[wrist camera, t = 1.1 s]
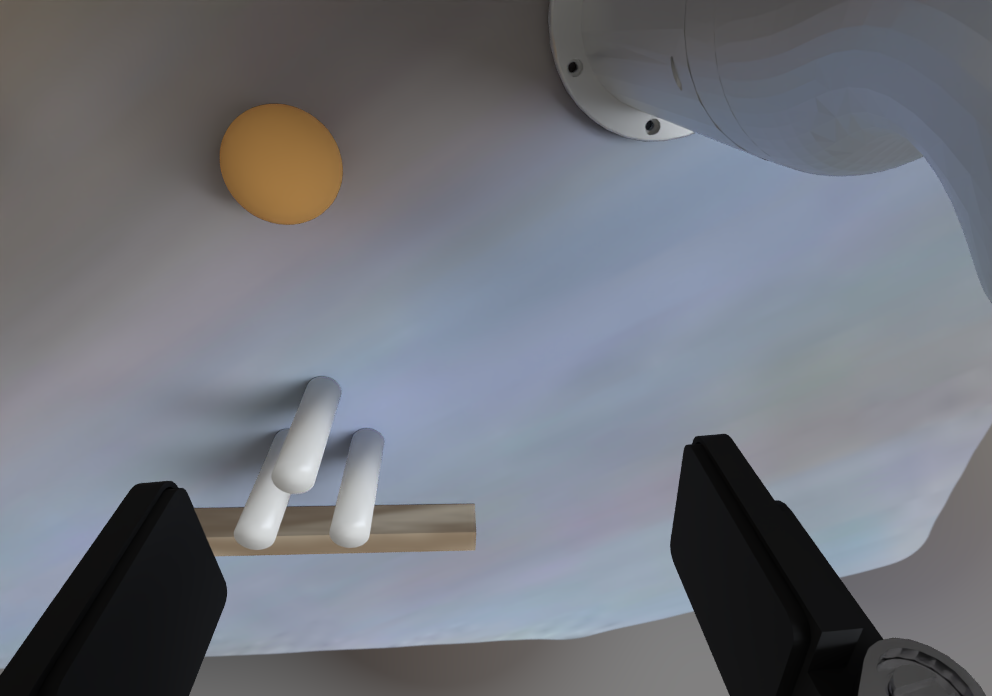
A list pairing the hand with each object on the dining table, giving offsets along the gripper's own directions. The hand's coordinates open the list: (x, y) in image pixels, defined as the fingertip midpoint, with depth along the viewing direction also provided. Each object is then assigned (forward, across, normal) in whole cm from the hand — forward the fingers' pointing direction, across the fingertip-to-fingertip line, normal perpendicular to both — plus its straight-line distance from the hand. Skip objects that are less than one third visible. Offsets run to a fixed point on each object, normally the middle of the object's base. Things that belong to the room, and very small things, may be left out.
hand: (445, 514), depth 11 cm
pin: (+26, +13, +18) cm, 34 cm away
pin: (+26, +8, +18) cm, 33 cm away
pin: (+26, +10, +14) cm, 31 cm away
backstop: (+26, +11, +26) cm, 38 cm away
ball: (+23, +8, -2) cm, 25 cm away
